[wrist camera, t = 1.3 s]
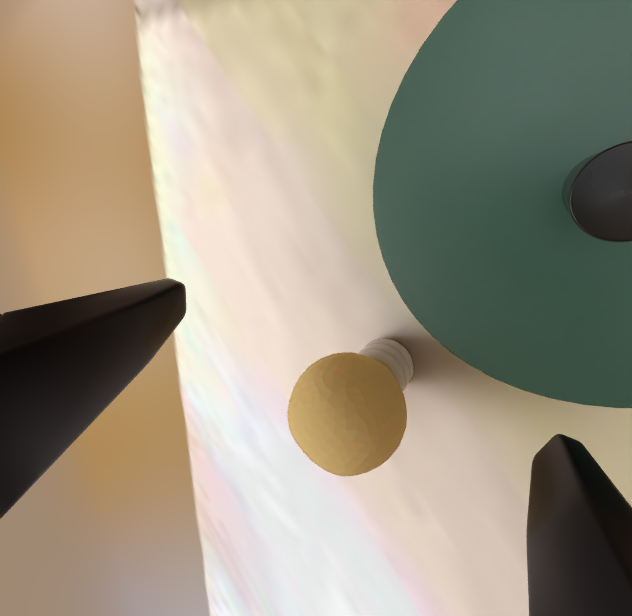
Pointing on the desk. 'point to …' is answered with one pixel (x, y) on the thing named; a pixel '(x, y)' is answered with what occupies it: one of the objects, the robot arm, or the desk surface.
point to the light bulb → (352, 407)
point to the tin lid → (518, 193)
